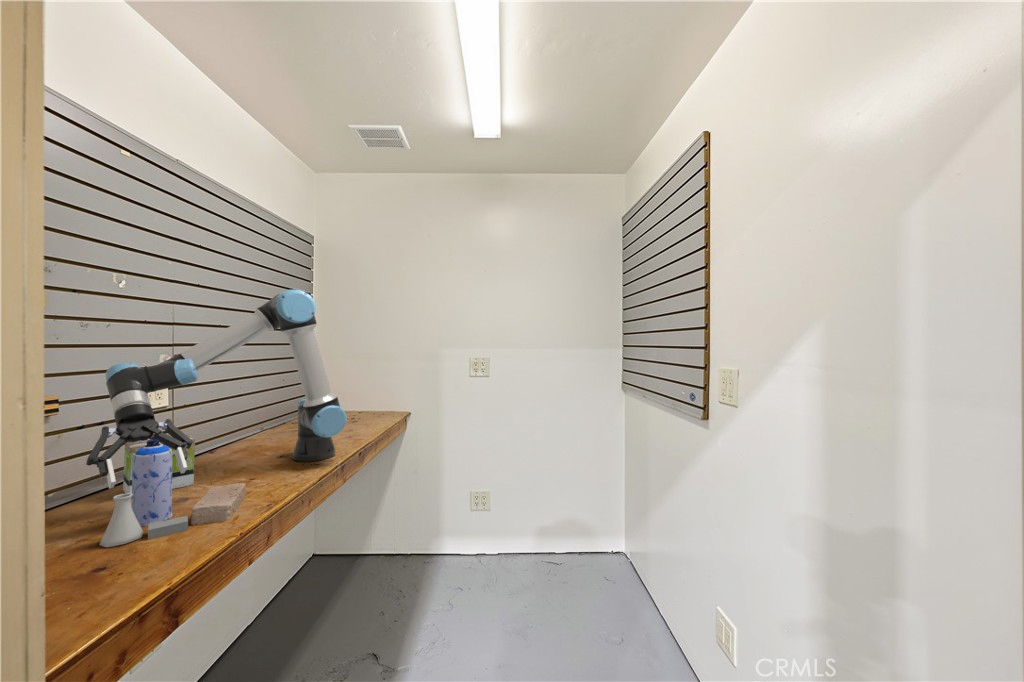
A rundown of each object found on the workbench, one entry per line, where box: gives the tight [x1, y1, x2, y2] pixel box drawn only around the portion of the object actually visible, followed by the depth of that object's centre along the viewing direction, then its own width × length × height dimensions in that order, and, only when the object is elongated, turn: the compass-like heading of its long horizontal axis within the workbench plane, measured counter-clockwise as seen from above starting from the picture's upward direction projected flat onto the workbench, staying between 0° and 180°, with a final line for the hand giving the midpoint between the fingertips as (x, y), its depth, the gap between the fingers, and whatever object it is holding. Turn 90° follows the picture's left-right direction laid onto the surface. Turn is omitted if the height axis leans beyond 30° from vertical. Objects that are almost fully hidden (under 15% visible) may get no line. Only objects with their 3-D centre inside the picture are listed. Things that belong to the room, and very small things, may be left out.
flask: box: [99, 493, 145, 548], centre depth 89 cm, size 7×7×10 cm
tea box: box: [122, 434, 196, 499], centre depth 122 cm, size 15×10×15 cm, turn 141°
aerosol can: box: [131, 439, 173, 527], centre depth 100 cm, size 8×8×20 cm
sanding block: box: [147, 515, 189, 541], centre depth 93 cm, size 7×4×2 cm, turn 131°
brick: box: [190, 482, 247, 526], centre depth 106 cm, size 17×8×5 cm, turn 22°
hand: (150, 477), depth 99 cm, fingers open, 13 cm apart
